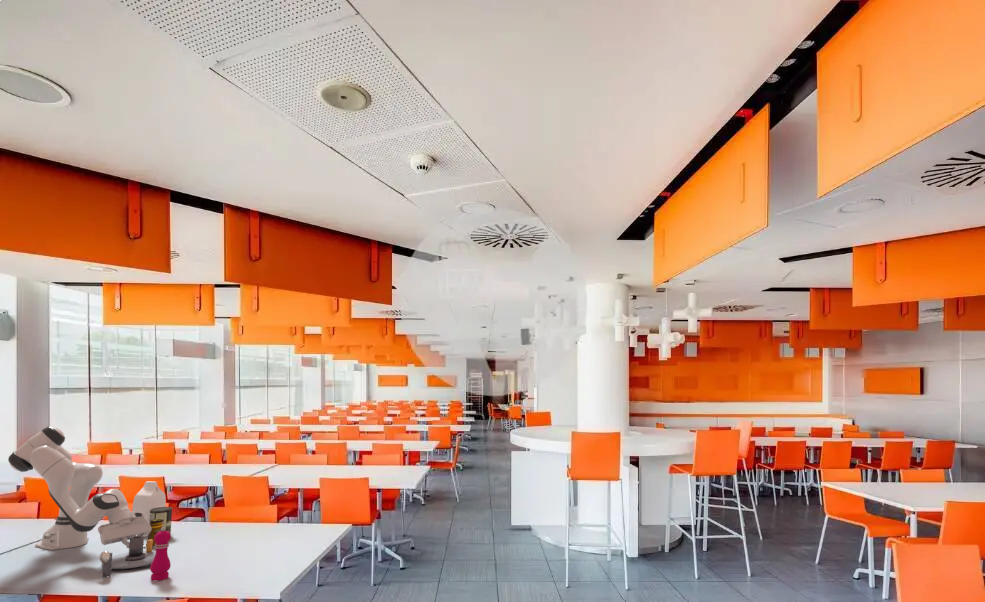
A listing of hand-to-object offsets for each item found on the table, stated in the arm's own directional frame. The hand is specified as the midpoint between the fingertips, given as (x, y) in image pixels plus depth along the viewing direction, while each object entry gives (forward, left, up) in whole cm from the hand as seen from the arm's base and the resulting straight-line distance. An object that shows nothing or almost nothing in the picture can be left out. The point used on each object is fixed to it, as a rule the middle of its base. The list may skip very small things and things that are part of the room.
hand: (131, 546), depth 256 cm
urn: (+3, -1, -5) cm, 6 cm away
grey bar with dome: (+7, -18, -7) cm, 20 cm away
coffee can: (-22, +37, -7) cm, 44 cm away
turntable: (+3, -1, -5) cm, 6 cm away
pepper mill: (+30, -14, -7) cm, 34 cm away
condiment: (-13, +24, -7) cm, 29 cm away
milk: (-37, +44, -7) cm, 58 cm away
